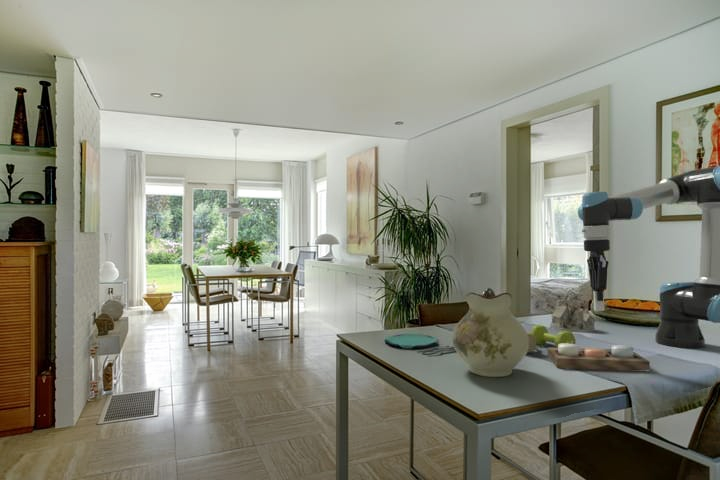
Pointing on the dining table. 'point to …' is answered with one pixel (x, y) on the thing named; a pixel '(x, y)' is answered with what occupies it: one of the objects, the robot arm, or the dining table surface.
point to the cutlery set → (417, 343)
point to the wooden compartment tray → (598, 361)
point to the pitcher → (490, 335)
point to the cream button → (568, 349)
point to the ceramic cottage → (572, 317)
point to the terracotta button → (595, 352)
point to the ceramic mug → (532, 343)
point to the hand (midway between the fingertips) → (599, 310)
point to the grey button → (622, 351)
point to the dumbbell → (551, 336)
